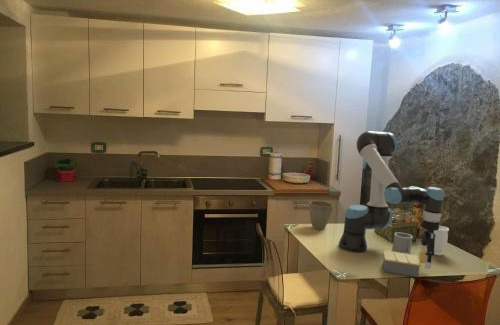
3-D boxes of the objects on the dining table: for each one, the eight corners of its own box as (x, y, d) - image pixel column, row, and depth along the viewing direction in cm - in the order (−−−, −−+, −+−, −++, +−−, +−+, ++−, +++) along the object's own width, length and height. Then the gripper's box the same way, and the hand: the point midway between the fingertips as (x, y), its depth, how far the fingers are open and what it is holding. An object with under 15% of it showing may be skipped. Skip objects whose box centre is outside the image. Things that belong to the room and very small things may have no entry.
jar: (447, 257, 227) (451, 231, 225) (427, 254, 229) (431, 228, 226) (442, 251, 237) (446, 225, 235) (423, 248, 239) (427, 223, 237)
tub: (384, 272, 198) (386, 260, 197) (382, 263, 210) (384, 252, 209) (417, 278, 195) (419, 265, 194) (414, 268, 206) (416, 257, 206)
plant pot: (306, 230, 256) (308, 205, 254) (307, 223, 271) (309, 199, 269) (330, 233, 254) (333, 207, 252) (330, 226, 268) (333, 202, 266)
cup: (396, 252, 228) (399, 231, 227) (412, 257, 222) (415, 236, 220) (388, 255, 222) (391, 234, 220) (404, 261, 216) (407, 239, 214)
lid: (384, 260, 197) (386, 250, 196) (383, 251, 210) (384, 241, 209) (431, 268, 192) (432, 257, 192) (426, 258, 205) (428, 248, 204)
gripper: (445, 228, 183) (438, 274, 186) (434, 215, 207) (429, 255, 210) (427, 226, 185) (420, 271, 188) (418, 213, 209) (413, 253, 212)
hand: (425, 263), depth 199 cm, fingers open, 13 cm apart
